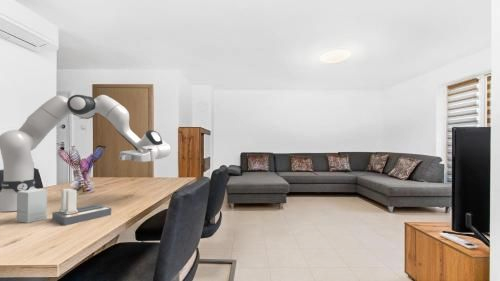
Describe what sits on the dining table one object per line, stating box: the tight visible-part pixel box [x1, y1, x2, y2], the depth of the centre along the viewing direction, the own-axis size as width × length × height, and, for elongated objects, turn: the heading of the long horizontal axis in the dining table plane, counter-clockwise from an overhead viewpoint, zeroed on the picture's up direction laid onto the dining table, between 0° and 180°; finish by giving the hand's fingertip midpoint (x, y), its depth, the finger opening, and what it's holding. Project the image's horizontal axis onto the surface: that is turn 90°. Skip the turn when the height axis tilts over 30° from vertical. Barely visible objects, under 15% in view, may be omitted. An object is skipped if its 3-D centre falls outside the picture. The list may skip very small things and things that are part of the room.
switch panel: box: [51, 203, 112, 226], centre depth 107 cm, size 13×18×3 cm
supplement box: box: [16, 188, 48, 224], centre depth 103 cm, size 7×7×13 cm
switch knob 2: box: [64, 189, 78, 214], centre depth 102 cm, size 2×4×10 cm, turn 146°
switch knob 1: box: [59, 188, 73, 212], centre depth 105 cm, size 2×4×10 cm, turn 146°
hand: (120, 158), depth 125 cm, fingers closed
